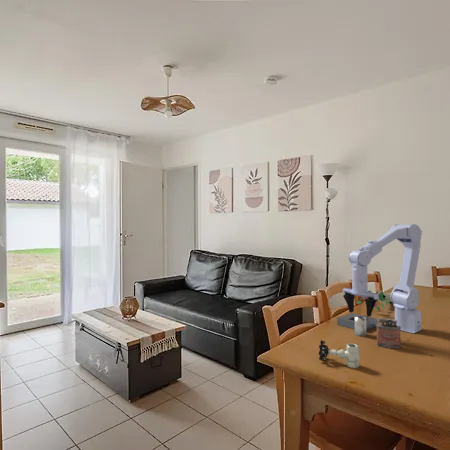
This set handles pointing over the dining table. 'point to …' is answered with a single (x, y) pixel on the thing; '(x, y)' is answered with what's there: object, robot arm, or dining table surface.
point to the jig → (349, 321)
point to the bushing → (360, 325)
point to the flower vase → (382, 298)
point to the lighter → (388, 333)
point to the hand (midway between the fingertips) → (360, 313)
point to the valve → (342, 353)
